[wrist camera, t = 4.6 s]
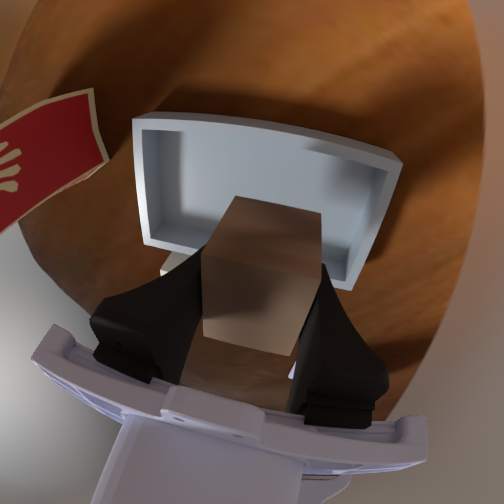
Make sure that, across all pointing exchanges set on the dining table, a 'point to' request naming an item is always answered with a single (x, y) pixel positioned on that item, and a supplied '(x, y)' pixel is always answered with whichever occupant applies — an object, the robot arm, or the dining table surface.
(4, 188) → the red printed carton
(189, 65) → the dining table surface
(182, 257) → the cream box
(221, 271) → the walnut block
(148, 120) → the tote
